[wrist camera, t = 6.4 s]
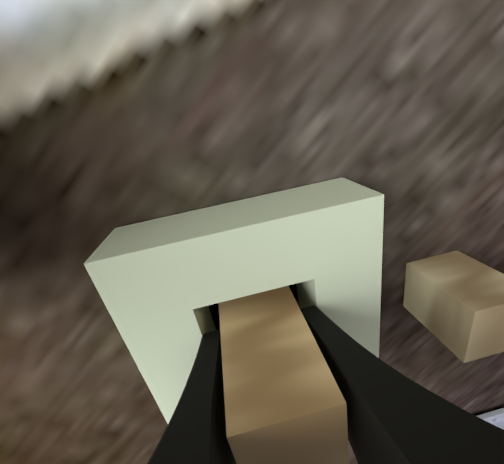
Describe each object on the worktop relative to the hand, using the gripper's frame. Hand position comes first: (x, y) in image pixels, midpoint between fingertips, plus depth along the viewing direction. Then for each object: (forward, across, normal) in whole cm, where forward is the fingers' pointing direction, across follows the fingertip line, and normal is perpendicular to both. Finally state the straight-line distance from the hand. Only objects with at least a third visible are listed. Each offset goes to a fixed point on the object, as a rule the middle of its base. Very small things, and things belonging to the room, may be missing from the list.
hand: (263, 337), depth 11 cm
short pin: (+3, -10, +2) cm, 11 cm away
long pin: (+3, 0, 0) cm, 3 cm away
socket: (+3, 0, 0) cm, 3 cm away
